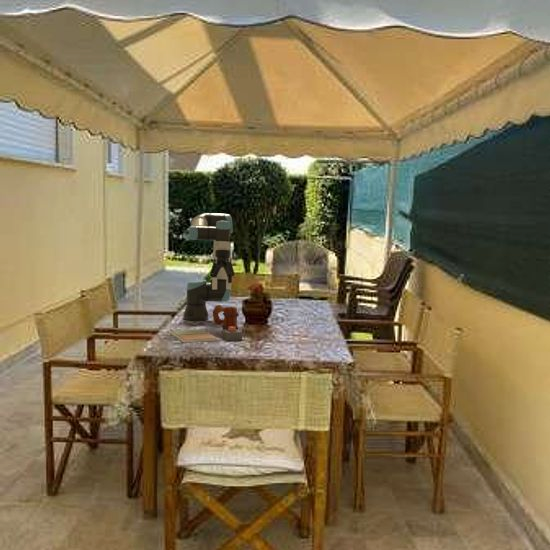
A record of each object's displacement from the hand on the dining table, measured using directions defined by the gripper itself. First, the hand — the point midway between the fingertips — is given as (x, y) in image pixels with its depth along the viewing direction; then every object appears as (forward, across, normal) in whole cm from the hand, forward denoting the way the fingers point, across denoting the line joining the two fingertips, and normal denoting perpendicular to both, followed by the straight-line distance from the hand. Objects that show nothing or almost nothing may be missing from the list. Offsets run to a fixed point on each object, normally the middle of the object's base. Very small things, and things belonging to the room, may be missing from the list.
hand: (221, 289), depth 340 cm
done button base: (+26, +9, +1) cm, 27 cm away
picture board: (+25, -4, -14) cm, 29 cm away
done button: (+23, +9, +1) cm, 25 cm away
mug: (+24, -4, +6) cm, 25 cm away
